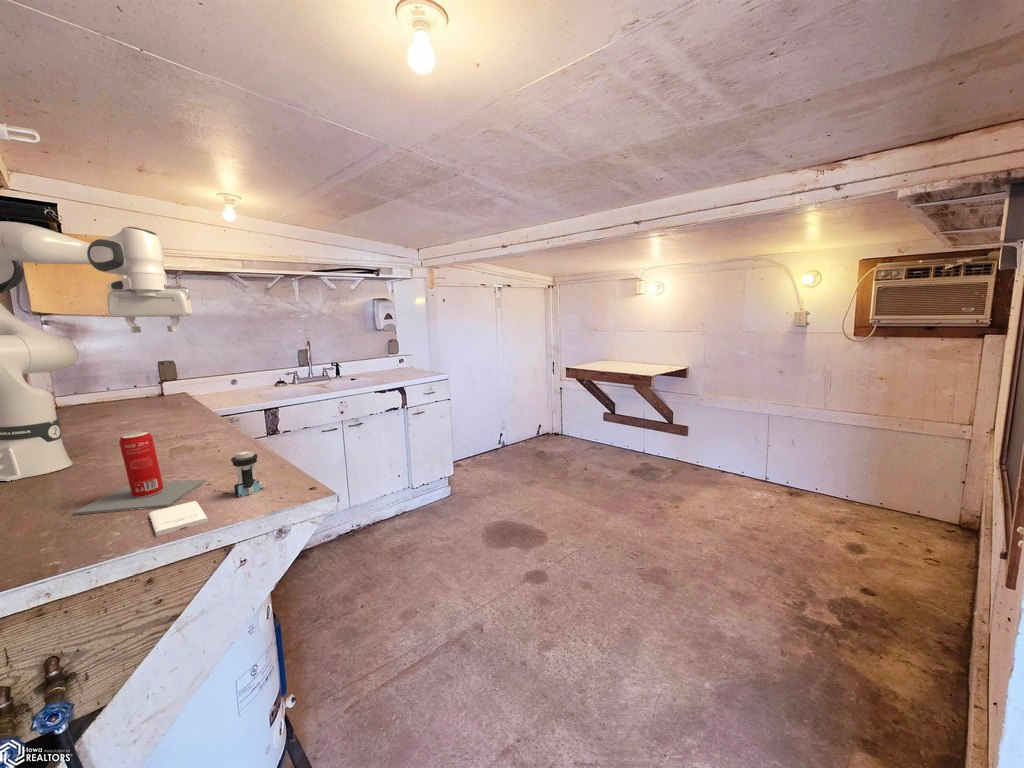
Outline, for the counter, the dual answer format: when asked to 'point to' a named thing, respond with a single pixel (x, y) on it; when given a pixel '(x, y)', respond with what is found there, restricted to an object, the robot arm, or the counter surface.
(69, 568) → the counter surface
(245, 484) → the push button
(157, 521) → the external hard drive
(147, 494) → the beverage can
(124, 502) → the mat
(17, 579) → the counter surface
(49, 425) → the robot arm
